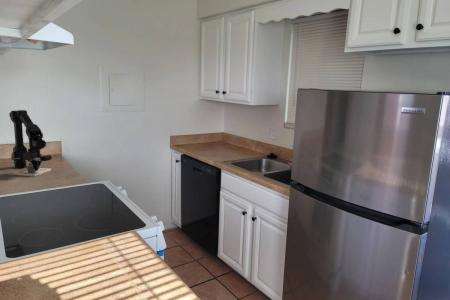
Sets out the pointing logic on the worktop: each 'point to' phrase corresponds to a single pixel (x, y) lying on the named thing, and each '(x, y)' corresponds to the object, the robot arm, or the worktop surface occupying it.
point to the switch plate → (40, 171)
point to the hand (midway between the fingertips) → (36, 170)
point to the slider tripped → (31, 169)
